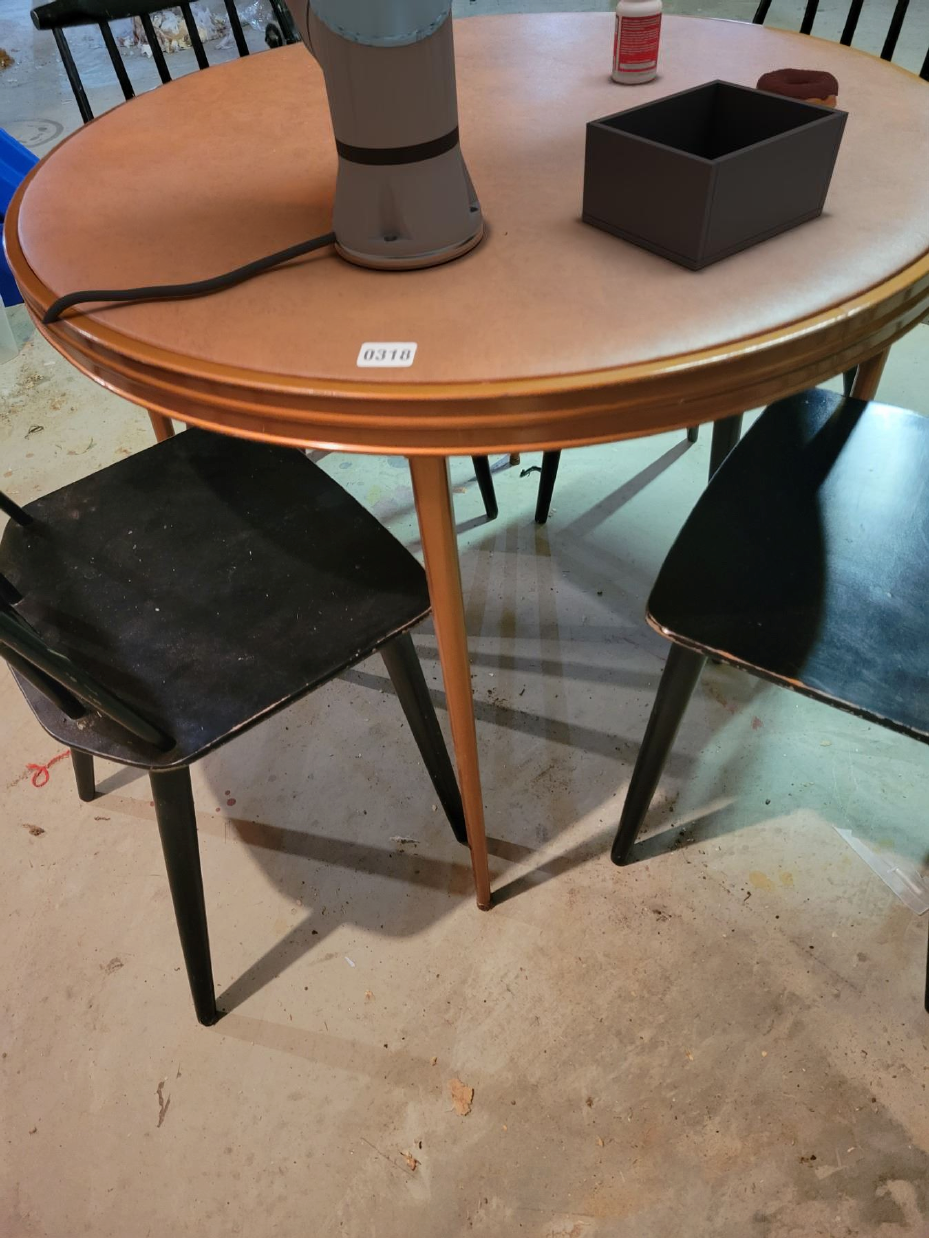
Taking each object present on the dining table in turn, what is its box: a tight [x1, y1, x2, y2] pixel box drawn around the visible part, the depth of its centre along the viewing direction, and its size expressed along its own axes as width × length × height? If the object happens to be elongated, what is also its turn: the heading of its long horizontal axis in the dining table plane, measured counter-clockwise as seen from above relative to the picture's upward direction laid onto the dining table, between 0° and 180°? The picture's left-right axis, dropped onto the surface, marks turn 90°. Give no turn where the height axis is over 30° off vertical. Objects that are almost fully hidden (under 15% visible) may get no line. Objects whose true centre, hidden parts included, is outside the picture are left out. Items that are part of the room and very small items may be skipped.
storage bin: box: [581, 78, 850, 272], centre depth 74 cm, size 18×16×9 cm
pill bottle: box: [611, 0, 664, 85], centre depth 105 cm, size 6×6×11 cm
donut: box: [755, 67, 840, 109], centre depth 94 cm, size 10×10×4 cm
